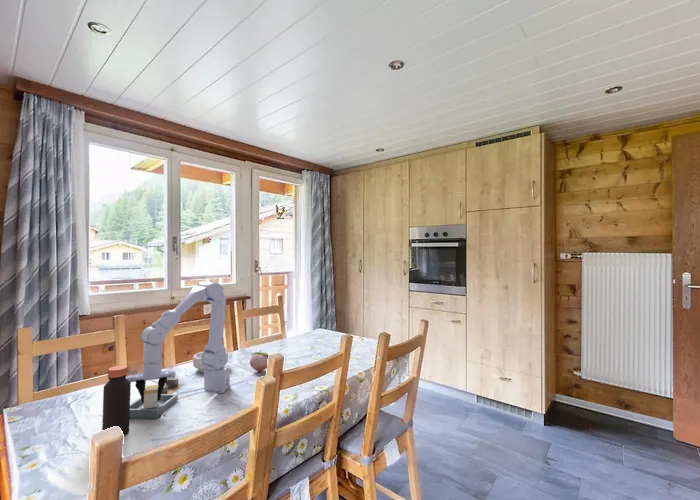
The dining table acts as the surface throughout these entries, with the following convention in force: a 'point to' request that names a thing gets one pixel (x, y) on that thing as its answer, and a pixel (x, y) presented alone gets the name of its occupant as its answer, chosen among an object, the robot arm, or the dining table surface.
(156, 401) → the white and tan block
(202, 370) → the white bowl
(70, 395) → the dining table surface
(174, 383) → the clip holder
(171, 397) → the tray
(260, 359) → the decorative fruit
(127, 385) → the bottle
